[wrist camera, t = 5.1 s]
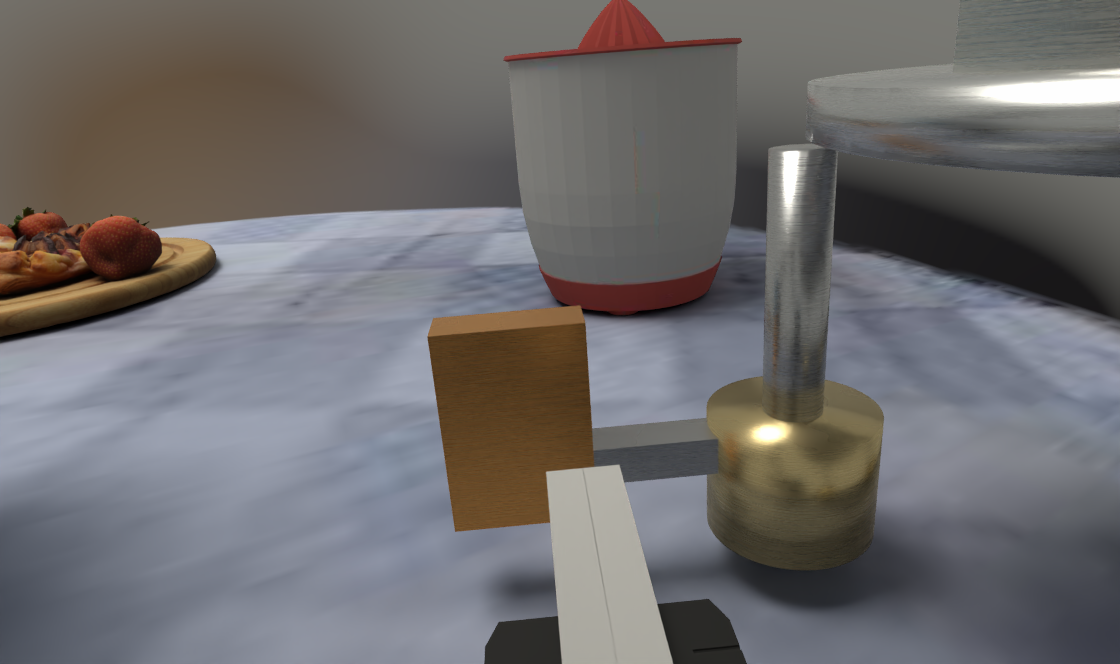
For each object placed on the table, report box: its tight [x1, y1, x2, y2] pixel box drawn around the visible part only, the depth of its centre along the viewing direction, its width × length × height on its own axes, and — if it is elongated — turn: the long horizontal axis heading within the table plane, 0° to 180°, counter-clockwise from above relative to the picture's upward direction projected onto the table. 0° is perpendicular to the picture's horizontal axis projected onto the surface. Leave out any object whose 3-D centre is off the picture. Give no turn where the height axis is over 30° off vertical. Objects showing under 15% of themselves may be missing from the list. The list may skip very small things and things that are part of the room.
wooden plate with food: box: [0, 207, 216, 337], centre depth 66 cm, size 32×32×8 cm
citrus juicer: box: [504, 0, 742, 315], centre depth 51 cm, size 16×17×20 cm
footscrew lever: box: [428, 144, 884, 570], centre depth 22 cm, size 13×5×13 cm, turn 94°
